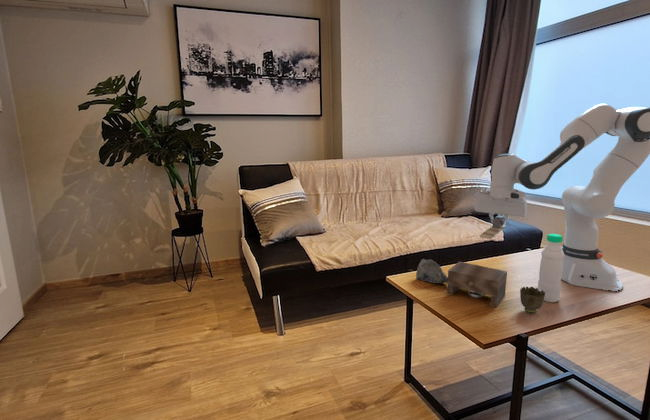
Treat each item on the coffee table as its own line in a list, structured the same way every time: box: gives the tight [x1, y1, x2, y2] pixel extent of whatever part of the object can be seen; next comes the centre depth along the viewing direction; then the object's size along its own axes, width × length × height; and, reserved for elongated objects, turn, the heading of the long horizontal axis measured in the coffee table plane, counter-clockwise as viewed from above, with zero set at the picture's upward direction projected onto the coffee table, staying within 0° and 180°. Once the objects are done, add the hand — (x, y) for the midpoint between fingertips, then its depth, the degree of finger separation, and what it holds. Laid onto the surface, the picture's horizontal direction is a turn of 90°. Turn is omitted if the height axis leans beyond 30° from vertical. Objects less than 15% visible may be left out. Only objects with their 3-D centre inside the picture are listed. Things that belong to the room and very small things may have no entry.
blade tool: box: [479, 214, 506, 240], centre depth 143 cm, size 22×4×5 cm, turn 140°
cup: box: [519, 286, 545, 315], centre depth 120 cm, size 8×7×8 cm
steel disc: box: [468, 290, 484, 299], centre depth 134 cm, size 5×5×2 cm
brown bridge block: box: [446, 261, 508, 308], centre depth 133 cm, size 18×13×10 cm
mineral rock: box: [415, 258, 448, 284], centre depth 146 cm, size 13×11×10 cm
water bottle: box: [537, 233, 564, 303], centre depth 127 cm, size 7×7×25 cm
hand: (498, 224), depth 148 cm, fingers closed on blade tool, 2 cm apart
